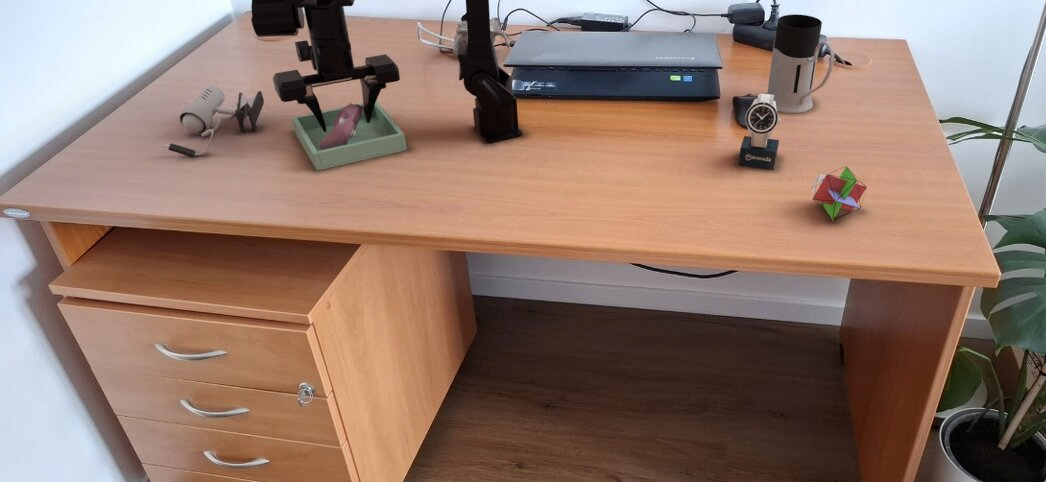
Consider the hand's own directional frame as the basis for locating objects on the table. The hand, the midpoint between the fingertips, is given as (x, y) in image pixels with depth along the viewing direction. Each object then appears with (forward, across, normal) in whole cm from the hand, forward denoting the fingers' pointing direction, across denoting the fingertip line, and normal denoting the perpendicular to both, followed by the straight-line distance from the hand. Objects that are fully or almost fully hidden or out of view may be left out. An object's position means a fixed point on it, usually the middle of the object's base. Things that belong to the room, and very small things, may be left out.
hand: (346, 126), depth 135 cm
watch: (+2, -55, +39) cm, 68 cm away
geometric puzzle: (+2, -55, +57) cm, 80 cm away
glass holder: (+2, -74, +26) cm, 79 cm away
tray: (+3, 0, 0) cm, 3 cm away
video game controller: (+2, +1, +1) cm, 3 cm away
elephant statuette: (+3, -35, -26) cm, 43 cm away
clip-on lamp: (+3, +19, -12) cm, 23 cm away
